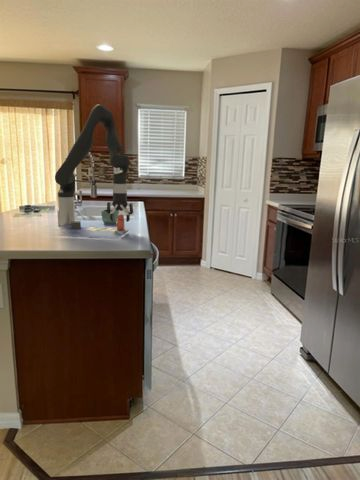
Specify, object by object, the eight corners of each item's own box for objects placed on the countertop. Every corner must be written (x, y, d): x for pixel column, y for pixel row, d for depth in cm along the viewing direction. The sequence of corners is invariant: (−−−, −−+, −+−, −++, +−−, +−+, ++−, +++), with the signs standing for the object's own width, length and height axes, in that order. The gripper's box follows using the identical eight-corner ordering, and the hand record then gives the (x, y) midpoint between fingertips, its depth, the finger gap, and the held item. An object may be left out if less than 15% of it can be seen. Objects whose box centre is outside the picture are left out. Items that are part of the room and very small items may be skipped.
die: (71, 231, 196) (71, 222, 195) (71, 229, 201) (71, 220, 200) (80, 231, 198) (80, 222, 196) (80, 229, 202) (80, 220, 201)
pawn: (116, 230, 195) (116, 214, 193) (118, 229, 199) (118, 213, 197) (123, 230, 195) (123, 214, 193) (125, 229, 198) (125, 213, 197)
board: (84, 232, 194) (84, 230, 194) (90, 229, 204) (90, 227, 203) (124, 234, 192) (124, 232, 192) (128, 230, 202) (128, 228, 201)
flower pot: (119, 224, 221) (119, 209, 219) (115, 226, 213) (115, 211, 211) (105, 223, 222) (105, 209, 220) (101, 226, 214) (100, 211, 212)
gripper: (105, 192, 189) (105, 221, 192) (131, 193, 187) (130, 223, 191) (109, 190, 196) (109, 219, 200) (134, 192, 195) (134, 220, 198)
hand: (120, 221), depth 195 cm, fingers open, 8 cm apart
